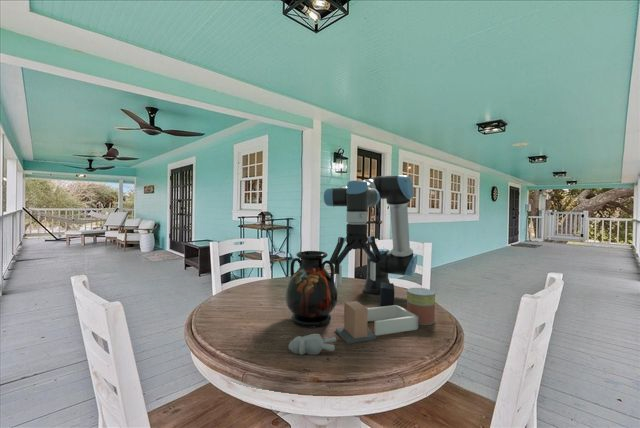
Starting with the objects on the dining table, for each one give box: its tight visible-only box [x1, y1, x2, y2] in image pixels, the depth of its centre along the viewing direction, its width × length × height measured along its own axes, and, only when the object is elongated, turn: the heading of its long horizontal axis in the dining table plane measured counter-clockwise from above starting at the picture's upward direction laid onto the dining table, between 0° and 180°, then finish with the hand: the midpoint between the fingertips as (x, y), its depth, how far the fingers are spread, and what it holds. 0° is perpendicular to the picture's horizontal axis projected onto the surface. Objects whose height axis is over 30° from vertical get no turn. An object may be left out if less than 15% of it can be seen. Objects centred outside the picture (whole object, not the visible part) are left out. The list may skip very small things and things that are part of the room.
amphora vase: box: [284, 250, 339, 328], centre depth 125 cm, size 22×22×28 cm
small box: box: [379, 282, 395, 307], centre depth 142 cm, size 11×6×10 cm, turn 168°
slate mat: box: [335, 326, 377, 344], centre depth 111 cm, size 11×11×1 cm
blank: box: [343, 300, 368, 338], centre depth 111 cm, size 5×9×10 cm, turn 19°
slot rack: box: [366, 304, 419, 337], centre depth 121 cm, size 19×14×5 cm
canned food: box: [406, 287, 436, 326], centre depth 127 cm, size 11×11×12 cm
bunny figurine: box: [287, 333, 337, 356], centre depth 98 cm, size 10×5×15 cm
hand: (356, 281), depth 111 cm, fingers open, 13 cm apart
